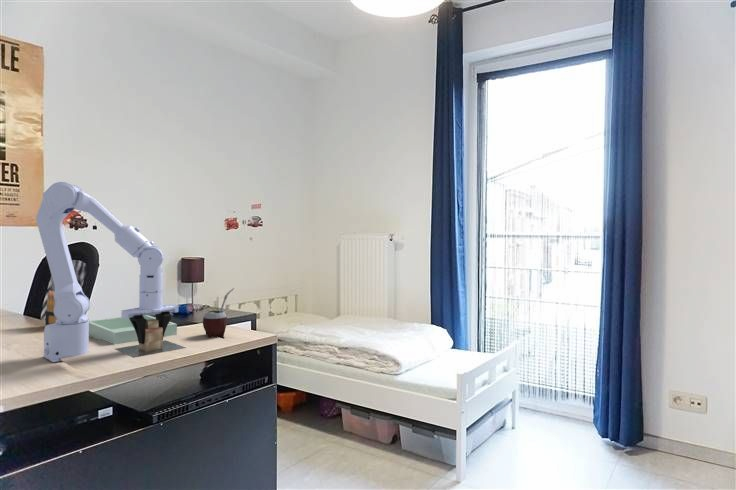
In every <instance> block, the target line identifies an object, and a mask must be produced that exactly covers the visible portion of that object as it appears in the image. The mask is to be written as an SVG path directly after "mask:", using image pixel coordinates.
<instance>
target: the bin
mask: <svg viewBox="0 0 736 490" xmlns="http://www.w3.org/2000/svg"><path fill="white" fill-rule="evenodd" d="M143 317H144V319H146V320H149V319H156V317H154V316H153V315H146V316H143ZM116 331H118V332H116ZM177 334H178V324H177V323H175V322H172V321H169V323H168V325H167V328H166V330H165V334H164V337H169V336H176V335H177ZM89 337H90V338H92V339H95V340H103V341H106V342H108V343H111V344H112V345H118V344H125V343H131V342H138V338H137V334H136V331H135V329H134V327H133V325H132V323H131V321H130V319H129V318H126V319H124V318H121V316H119V317H111V318H102V319H94V320H89Z"/></svg>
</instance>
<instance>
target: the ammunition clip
mask: <svg viewBox="0 0 736 490" xmlns="http://www.w3.org/2000/svg"><path fill="white" fill-rule="evenodd" d="M54 291H55V290H52V291H51V289H49V290H48V292H47V299H46V311H45V326H46V325H49V324H54V323H56V320H57V318H56V317H55V315H54V306H55V299H54Z"/></svg>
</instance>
